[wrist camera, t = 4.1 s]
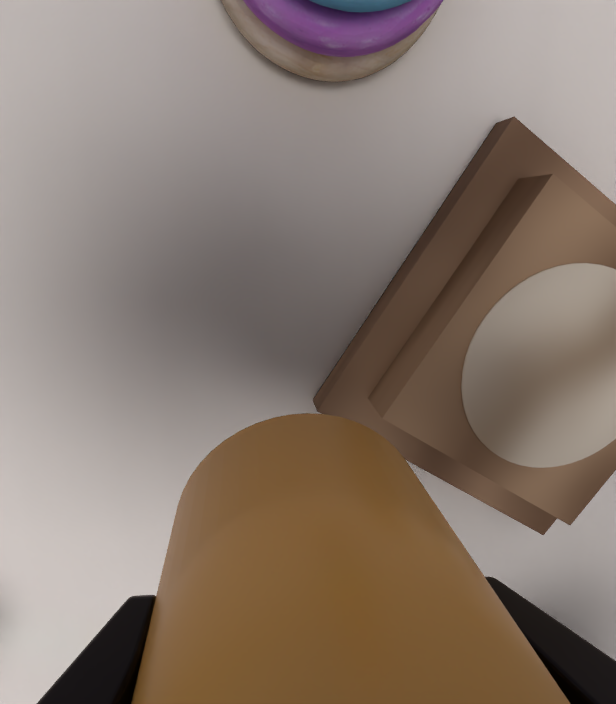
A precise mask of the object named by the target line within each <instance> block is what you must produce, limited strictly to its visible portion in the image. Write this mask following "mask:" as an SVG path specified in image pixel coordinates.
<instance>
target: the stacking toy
mask: <svg viewBox="0 0 616 704" xmlns="http://www.w3.org/2000/svg"><path fill="white" fill-rule="evenodd" d="M221 1H222V3H223V5H224V7H225V9H226V11H227V13H228V14H229V16H230V17H231V19H232V21H233V22H234V24H235V25H236V27H237V28H238V29H239V31H240V32H241V34H242V35H243V36H244V37H245V38H246V39H247V40H248V42H249V43H250V44H251V45H252V46H253V47H254V48H255V49H257V50H258V51H259V52H260V53H261V54H262V55H264V56H265V57H266V58H268V59H269V60H271V61H272V62H273V63H275V64H277V65H278V66H280V67H282V68H284V69H285V70H288V71H290V72H292V73H295V74H297V75H300V76H303V77H306V78H310V79H315V80H321V81H330V82H340V81H349V80H354V79H359V78H363V77H366V76H368V75H371V74H373V73H375V72H378V71H380V70H382V69H384V68H385V67H387V66H388V65H390V64H391V63H393V62H395V61H396V60H397V59H398V58H399V57H401V56H402V55H403V54H404V53H405V52H406V51H408V50H409V49H410V47H411V46H412V45H413V44H414V43H415V42H416V41H417V40H418V39H419V37H420V36H421V35H422V34H423V32H424V31H425V29H426V28H427V27H428V25H429V24H430V22H431V20H432V19H433V17H434V15H435V14H436V12H437V10H438V8H439V6H440V4H441V3H442V2H443V0H221Z"/></svg>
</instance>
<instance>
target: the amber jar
mask: <svg viewBox="0 0 616 704" xmlns="http://www.w3.org/2000/svg"><path fill="white" fill-rule="evenodd" d="M131 704H570V702H569V701H568V699H567V698H566V696H565V695H564V693H563V692H562V691H561V689H560V688H559V686H558V685H557V683H556V682H555V680H554V679H553V677H552V676H551V674H550V673H549V671H548V670H547V668H546V667H545V665H544V664H543V662H542V661H541V660H540V658H539V657H538V655H537V654H536V652H535V651H534V649H533V648H532V646H531V645H530V643H529V642H528V640H527V639H526V637H525V636H524V634H523V633H522V631H521V630H520V628H519V627H518V626H517V624H516V623H515V621H514V620H513V618H512V617H511V615H510V614H509V612H508V611H507V609H506V608H505V606H504V605H503V603H502V602H501V600H500V599H499V597H498V596H497V595H496V593H495V592H494V590H493V589H492V587H491V586H490V584H489V583H488V581H487V580H486V578H485V577H484V575H483V574H482V572H481V571H480V569H479V568H478V566H477V565H476V564H475V562H474V561H473V559H472V558H471V556H470V555H469V553H468V552H467V550H466V549H465V547H464V546H463V544H462V543H461V541H460V540H459V538H458V537H457V535H456V534H455V533H454V531H453V530H452V528H451V527H450V525H449V524H448V522H447V521H446V519H445V518H444V516H443V515H442V513H441V512H440V510H439V509H438V507H437V506H436V504H435V503H434V502H433V500H432V499H431V497H430V496H429V494H428V493H427V491H426V490H425V488H424V487H423V485H422V484H421V482H420V481H419V479H418V478H417V476H416V475H415V473H414V472H413V470H412V469H411V468H410V466H409V465H408V463H407V462H406V460H405V459H404V457H403V456H402V455H401V454H400V453H399V451H398V450H397V449H396V448H395V447H394V446H393V445H392V444H391V443H390V442H389V441H387V440H386V439H385V438H384V437H383V436H381V435H380V434H378V433H377V432H375V431H373V430H372V429H370V428H368V427H366V426H364V425H362V424H360V423H357V422H355V421H352V420H348V419H345V418H342V417H337V416H332V415H326V414H310V413H306V414H292V415H286V416H280V417H275V418H271V419H268V420H265V421H262V422H259V423H256V424H254V425H252V426H249V427H247V428H245V429H243V430H241V431H239V432H237V433H236V434H234V435H233V436H231V437H229V438H228V439H226V440H225V441H223V442H222V443H221V444H220V445H218V446H217V447H216V448H215V449H214V450H212V451H211V452H210V453H209V454H208V455H207V456H206V458H205V459H204V460H203V461H202V462H201V463H200V464H199V465H198V467H197V468H196V470H195V471H194V472H193V474H192V475H191V476H190V478H189V480H188V482H187V484H186V486H185V488H184V490H183V492H182V495H181V498H180V501H179V503H178V507H177V511H176V515H175V519H174V524H173V528H172V532H171V536H170V541H169V545H168V549H167V553H166V558H165V562H164V566H163V570H162V575H161V579H160V583H159V587H158V591H157V596H156V600H155V604H154V608H153V613H152V617H151V621H150V625H149V630H148V634H147V638H146V642H145V647H144V651H143V655H142V659H141V663H140V668H139V672H138V676H137V680H136V685H135V689H134V693H133V697H132V702H131Z"/></svg>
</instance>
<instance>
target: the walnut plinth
mask: <svg viewBox="0 0 616 704" xmlns="http://www.w3.org/2000/svg"><path fill="white" fill-rule="evenodd" d="M313 402H314V404H315V407H316V409H317V411H318V412H320V413H322V414H326V415H332V416H337V417H342V418H345V419H348V420H352V421H355V422H357V423H360V424H362V425H364V426H366V427H368V428H370V429H372V430H373V431H375V432H377V433H378V434H380V435H381V436H383V437H384V438H385V439H386V440H387V441H389V442H390V443H391V444H392V445H393V446H394V447H395V448H396V449H397V450H398V451H399V453H400V454H401V455H402V456H403V457H404V459H405V460H407V461H409V462H411V463H413V464H415V465H416V466H418V467H420V468H422V469H424V470H425V471H427V472H429V473H431V474H433V475H435V476H436V477H438V478H440V479H442V480H444V481H445V482H447V483H449V484H451V485H453V486H455V487H456V488H458V489H460V490H462V491H464V492H466V493H467V494H469V495H471V496H473V497H475V498H476V499H478V500H480V501H482V502H484V503H486V504H487V505H489V506H491V507H493V508H495V509H496V510H498V511H500V512H502V513H504V514H506V515H507V516H509V517H511V518H513V519H515V520H517V521H518V522H520V523H522V524H524V525H526V526H527V527H529V528H531V529H533V530H535V531H537V532H538V533H540V534H542V535H544V534H545V533H546V531H547V530H548V529H549V528H550V526H551V525H552V524H553V523H554V522H555V520H556V519H557V518H558V519H560V520H561V521H563V522H565V523H567V524H568V525H571V524H572V522H573V521H574V520H575V519H576V518H577V516H578V515H579V514H580V513H581V511H582V510H583V509H584V508H585V507H586V505H587V504H588V503H589V502H590V500H591V499H592V498H593V497H594V496H595V494H596V493H597V492H598V491H599V490H600V488H601V487H602V486H603V485H604V483H605V482H606V481H607V480H608V479H609V477H610V476H611V475H612V474H613V472H614V471H615V470H616V205H615V204H614V203H613V202H612V201H611V200H610V199H609V198H607V197H606V196H605V195H604V194H603V193H602V192H600V191H599V190H598V189H597V188H596V187H595V186H594V185H592V184H591V183H590V182H589V181H588V180H587V179H585V178H584V177H583V176H582V175H581V174H580V173H579V172H577V171H576V170H575V169H574V168H573V167H572V166H570V165H569V164H568V163H567V162H566V161H565V160H564V159H562V158H561V157H560V156H559V155H558V154H557V153H555V152H554V151H553V150H552V149H551V148H550V147H549V146H547V145H546V144H545V143H544V142H543V141H542V140H540V139H539V138H538V137H537V136H536V135H535V134H534V133H532V132H531V131H530V130H529V129H528V128H527V127H525V126H524V125H523V124H522V123H521V122H520V121H519V120H517V119H516V118H515V117H512V118H509V119H506V120H504V121H501V122H498V123H496V125H495V126H494V128H493V129H492V131H491V132H490V134H489V135H488V137H487V138H486V140H485V141H484V143H483V144H482V146H481V147H480V149H479V150H478V152H477V153H476V155H475V156H474V158H473V159H472V161H471V162H470V164H469V165H468V167H467V168H466V170H465V171H464V173H463V174H462V176H461V177H460V179H459V180H458V182H457V183H456V185H455V186H454V188H453V189H452V191H451V192H450V194H449V195H448V197H447V198H446V200H445V201H444V203H443V204H442V206H441V207H440V209H439V210H438V212H437V213H436V215H435V216H434V218H433V220H432V221H431V223H430V224H429V226H428V227H427V229H426V230H425V232H424V233H423V235H422V236H421V238H420V239H419V241H418V242H417V244H416V245H415V247H414V248H413V250H412V251H411V253H410V254H409V256H408V257H407V259H406V260H405V262H404V263H403V265H402V266H401V268H400V269H399V271H398V272H397V274H396V275H395V277H394V278H393V280H392V281H391V283H390V284H389V286H388V287H387V289H386V290H385V292H384V293H383V295H382V296H381V298H380V299H379V301H378V302H377V304H376V305H375V307H374V308H373V310H372V311H371V313H370V315H369V316H368V318H367V319H366V321H365V322H364V324H363V325H362V327H361V328H360V330H359V331H358V333H357V334H356V336H355V337H354V339H353V340H352V342H351V343H350V345H349V346H348V348H347V349H346V351H345V352H344V354H343V355H342V357H341V358H340V360H339V361H338V363H337V364H336V366H335V367H334V369H333V370H332V372H331V373H330V375H329V376H328V378H327V379H326V381H325V382H324V384H323V385H322V387H321V388H320V390H319V391H318V393H317V394H316V396H315V397H314V399H313Z"/></svg>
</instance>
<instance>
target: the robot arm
mask: <svg viewBox="0 0 616 704" xmlns="http://www.w3.org/2000/svg"><path fill="white" fill-rule="evenodd" d="M485 578H486V580H487V581H488V583H489V584H490V586H491V587H492V589H493V590H494V592H495V593H496V595H497V596H498V597H499V599H500V600H501V602H502V603H503V605H504V606H505V608H506V609H507V611H508V612H509V614H510V615H511V617H512V618H513V620H514V621H515V623H516V624H517V626H518V627H519V628H520V630H521V631H522V633H523V634H524V636H525V637H526V639H527V640H528V642H529V643H530V645H531V646H532V648H533V649H534V651H535V652H536V654H537V655H538V657H539V658H540V660H541V661H542V662H543V664H544V665H545V667H546V668H547V670H548V671H549V673H550V674H551V676H552V677H553V679H554V680H555V682H556V683H557V685H558V686H559V688H560V689H561V691H562V692H563V693H564V695H565V696H566V698H567V699H568V701H569V702H570V704H616V661H615V660H613V659H612V658H610V657H609V656H607V655H606V654H605V653H603V652H602V651H600V650H599V649H597V648H596V647H594V646H593V645H591V644H590V643H589V642H587V641H586V640H584V639H583V638H581V637H580V636H578V635H577V634H575V633H574V632H572V631H571V630H570V629H568V628H567V627H565V626H564V625H562V624H561V623H559V622H558V621H556V620H555V619H554V618H552V617H551V616H549V615H548V614H546V613H545V612H543V611H542V610H540V609H539V608H538V607H536V606H535V605H533V604H532V603H530V602H529V601H527V600H526V599H524V598H523V597H522V596H520V595H519V594H517V593H516V592H514V591H513V590H511V589H510V588H508V587H507V586H506V585H504V584H503V583H501V582H500V581H498V580H497V579H495V578H493V577H485ZM155 600H156V596H155V595H142V596H132V597H130V598H129V599H128V600H127V601H126V602H125V603H124V604H123V605H122V606H121V607H120V609H119V610H118V611H117V612H116V613H115V614H114V616H113V617H112V618H111V619H110V620H109V621H108V622H107V624H106V625H105V626H104V627H103V628H102V629H101V630H100V632H99V633H98V634H97V635H96V636H95V637H94V638H93V640H92V641H91V642H90V643H89V644H88V645H87V647H86V648H85V649H84V650H83V651H82V652H81V653H80V655H79V656H78V657H77V658H76V659H75V660H74V661H73V663H72V664H71V665H70V666H69V667H68V668H67V670H66V671H65V672H64V673H63V674H62V675H61V676H60V678H59V679H58V680H57V681H56V682H55V683H54V684H53V686H52V687H51V688H50V689H49V690H48V691H47V693H46V694H45V695H44V696H43V697H42V698H41V699H40V701H39V702H38V703H37V704H131V702H132V697H133V693H134V689H135V685H136V680H137V676H138V672H139V668H140V663H141V659H142V655H143V651H144V647H145V642H146V638H147V634H148V630H149V625H150V621H151V617H152V613H153V608H154V604H155Z"/></svg>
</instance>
